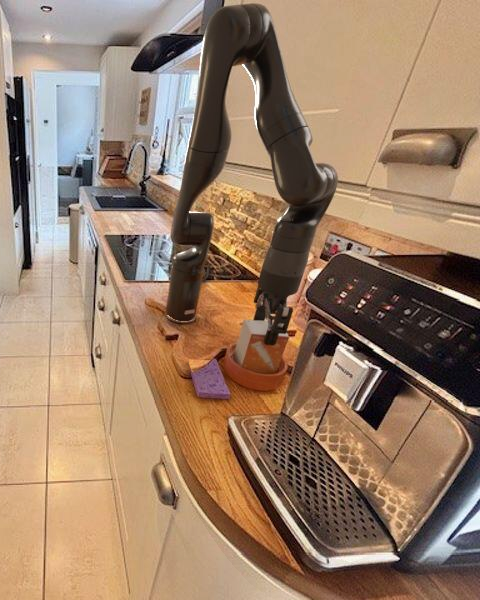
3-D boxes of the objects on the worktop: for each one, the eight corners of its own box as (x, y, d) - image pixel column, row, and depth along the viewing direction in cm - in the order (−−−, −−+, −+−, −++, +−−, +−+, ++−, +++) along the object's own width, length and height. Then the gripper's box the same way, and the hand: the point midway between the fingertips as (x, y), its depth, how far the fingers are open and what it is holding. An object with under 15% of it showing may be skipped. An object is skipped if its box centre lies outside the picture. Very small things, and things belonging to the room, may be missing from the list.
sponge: (197, 397, 74) (198, 391, 73) (187, 362, 85) (188, 356, 84) (229, 400, 73) (231, 393, 72) (214, 363, 84) (216, 358, 83)
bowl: (218, 354, 87) (221, 339, 85) (271, 359, 85) (276, 343, 83) (228, 388, 76) (233, 372, 74) (290, 395, 74) (297, 379, 71)
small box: (238, 378, 78) (250, 333, 72) (231, 361, 84) (242, 318, 77) (274, 381, 77) (290, 336, 71) (265, 364, 83) (279, 321, 76)
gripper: (318, 283, 60) (292, 354, 68) (289, 257, 73) (270, 319, 80) (274, 281, 62) (254, 350, 69) (253, 255, 74) (238, 316, 82)
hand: (263, 333), depth 75 cm, fingers open, 8 cm apart
